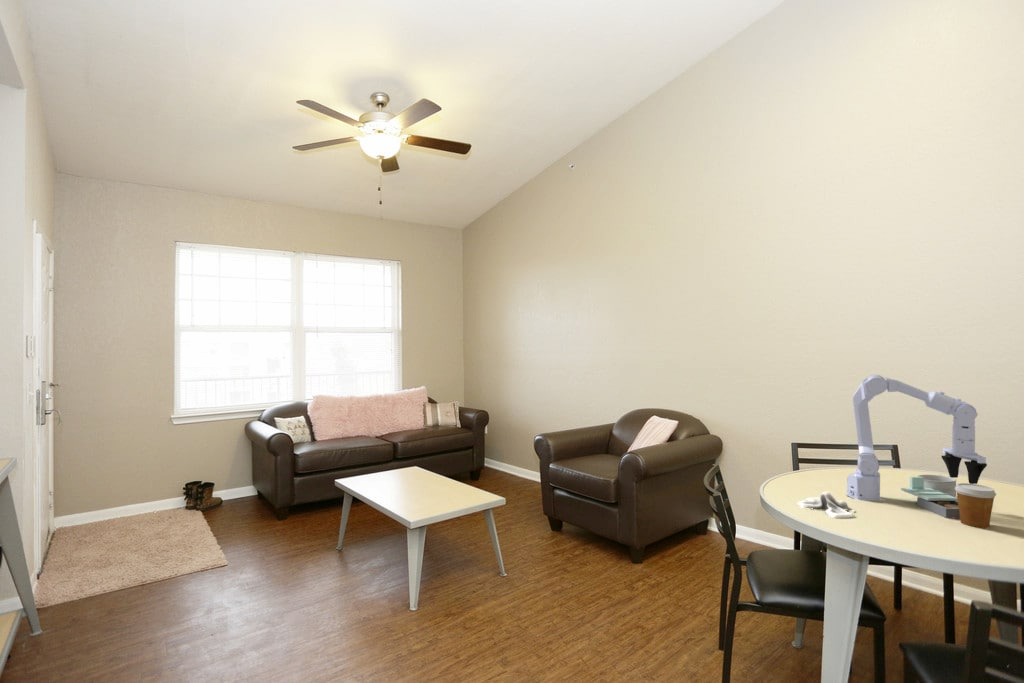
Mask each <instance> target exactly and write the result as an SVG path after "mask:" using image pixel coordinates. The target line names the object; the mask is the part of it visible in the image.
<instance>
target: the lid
mask: <svg viewBox="0 0 1024 683" xmlns="http://www.w3.org/2000/svg"><path fill="white" fill-rule="evenodd" d="M900 490H901V491H902V492H904V493H907V494H910V495H912V496H915V497H920V498H922V499H925V500H928V501H958V498H957V496H955V497H953V496H950V495H949V494H945V493H942V492H939V490H933V489H930V488H924V478H923V477H917V476H909V487H901V488H900Z"/></svg>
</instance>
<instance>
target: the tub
mask: <svg viewBox="0 0 1024 683" xmlns="http://www.w3.org/2000/svg"><path fill="white" fill-rule="evenodd" d="M916 497H917V496H916ZM948 502H950V504H954V505H957V506H959V505H958V501H948ZM916 503H917V504H916V506H917V507H918V508H921V509H923V510H926V511H928V512H930V513H933V514H935V515H937V516H939V517H943V518H945V519H960V512H959V508H946V507H943V506H940V505H938V504H935V503H933V502H932V501H928V500H925V499H922V498H920V497H917V498H916Z"/></svg>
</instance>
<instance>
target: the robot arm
mask: <svg viewBox="0 0 1024 683" xmlns="http://www.w3.org/2000/svg"><path fill="white" fill-rule="evenodd" d="M886 391H887V392H888V393H892V392H893V393H895V392H899V393H901V394H904V395H907V396H909V397H912V398H915V399H918V400H921V401H924V403H925V405H926V407H927V408H930V409H933V410H935V411H938V412H941V413H942V414H945V415H948V416H951V415H952V416H953V420H952V422H953V423H952V427H951V428H952V430H951V431H952V434H951V436H952V440H951V441H952V448H949V447H942V454H944V455H941V460H943V462H944V463H945V466H946V468H947V471H948V475H949V476H948V477H951V478H955V479H957V478H958V477H959V470H960V466H961V461H962V460H963V459H964V460H965V461H964V462H963V463H964V465H965V467H966V469H967V480H968V483H969V484H977V485H978V482H979V480H980V477H981V475H982V472H983V471H984V470H985V469H986V467H988V463H987V462H986V461H987V457H986V456H983V455H980V454H978V452H976V426H975V424H976V419H977V417H978V412H977V410H976V408H975V407H974V406H973V405H971V404H970V403H968V402H966V401H962V399H960V398H954V397H951V396H949V395H947V394H945V392H943V391H941V390H940V391H937V390H935V391H930V392H927V391H925V390H922V389H920V388H917V387H914V386H913V385H910V384H907V383H905V382H903V381H900V380H898V379H895V378H891V377H886V376H885V377H883V376H882V375H879V374H871V375H869V376H868V377H866V378H864V380H862V381H861V383H860V385H859V386H858V388H857V389H856V390H855V392H854V394H853V395H852V404H853V413H854V420H855V428H856V436H857V445H858V454H859V455H858V457H857V460H856V461H857V469H855V472H853V473H849V474H848V476H847V478H846V481H847V483H846V485H847V486H846V493H845V495H846V496H847V497H850V498H852V499H854V500H855V499H856V500H859V501H883V502H884V501H886V500H887V499H884V498H882V497H881V473H880V472H879V470H880V465H879V459H878V457H877V456H876V455H875V449H874V442H873V435H872V434H873V433H872V425H871V419H870V417H871V416H870V408H869V403H870V401H871V400H872V399H873V398H875V397H876V396H879V395H881V394H883V393H885V392H886Z"/></svg>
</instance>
